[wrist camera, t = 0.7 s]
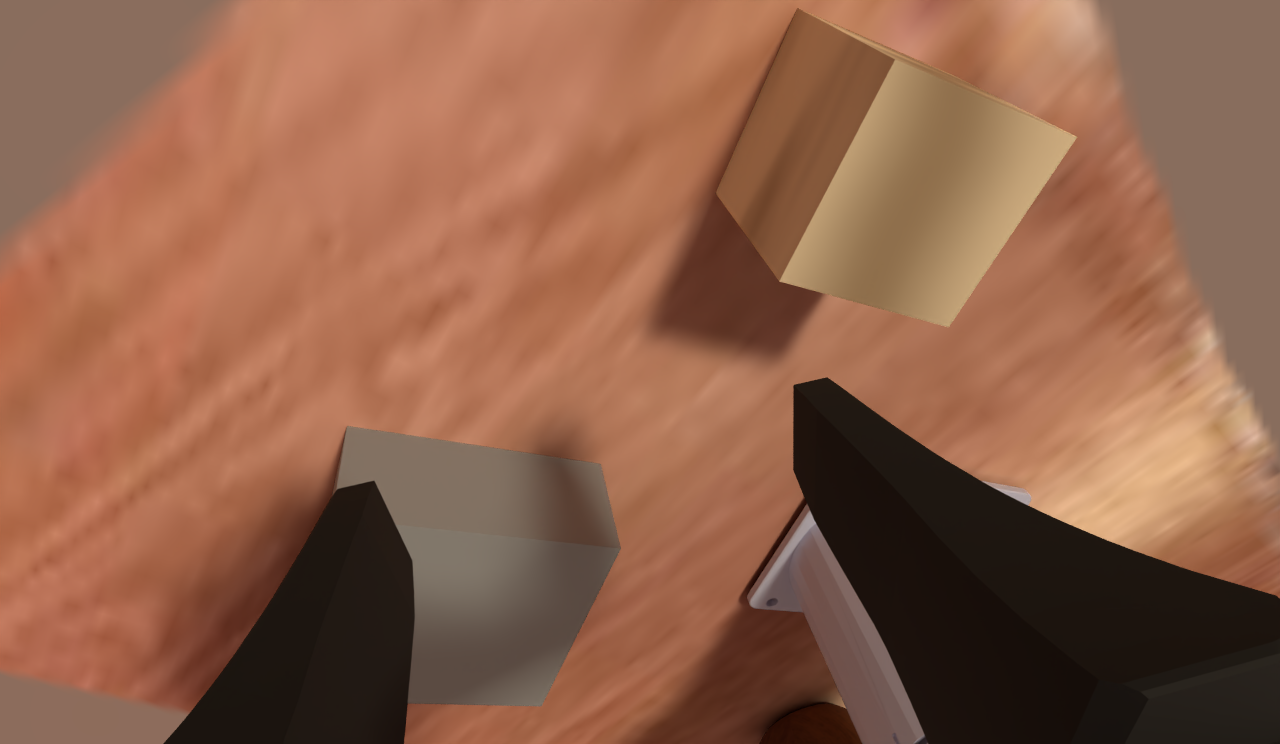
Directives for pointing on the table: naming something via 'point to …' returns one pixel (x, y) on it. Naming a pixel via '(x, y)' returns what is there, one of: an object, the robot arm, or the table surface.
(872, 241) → the maple cube
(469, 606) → the slate base block
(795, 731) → the wooden figurine
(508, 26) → the table surface
